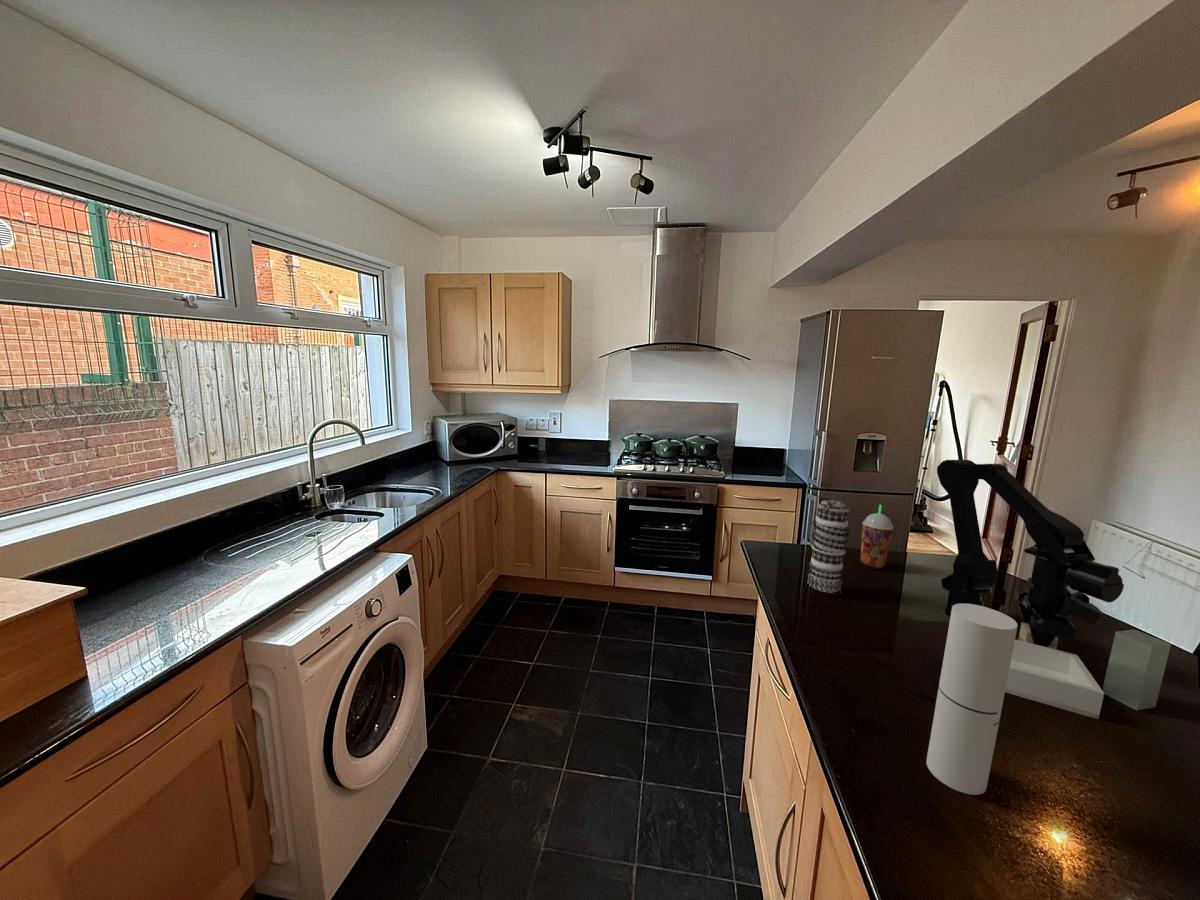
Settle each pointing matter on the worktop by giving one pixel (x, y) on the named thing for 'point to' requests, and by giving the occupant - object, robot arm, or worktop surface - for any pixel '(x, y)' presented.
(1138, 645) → the sage tin
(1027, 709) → the worktop surface
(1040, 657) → the white tote
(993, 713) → the cylindrical container
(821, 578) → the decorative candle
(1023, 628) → the oak block
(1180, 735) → the worktop surface
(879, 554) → the smoothie
